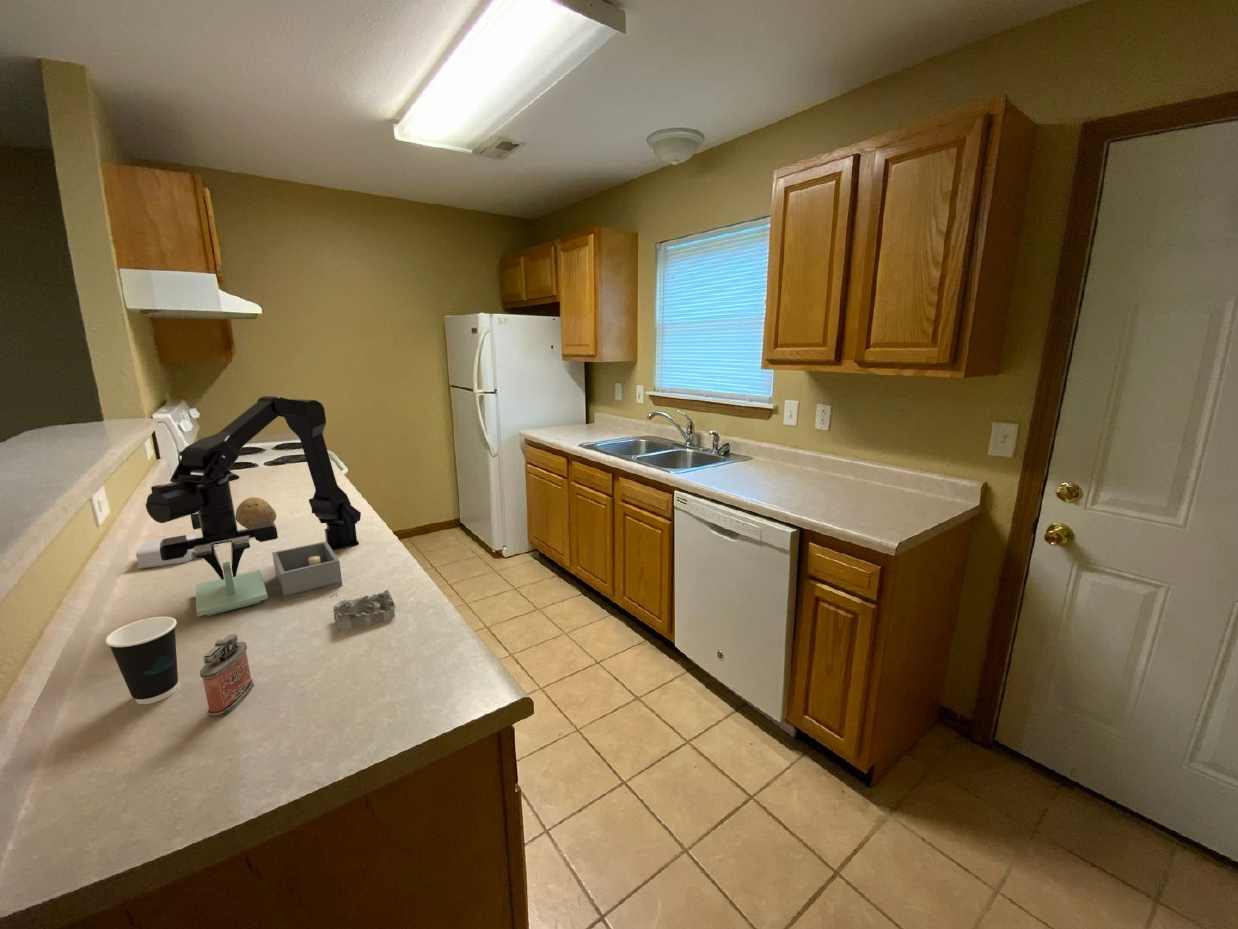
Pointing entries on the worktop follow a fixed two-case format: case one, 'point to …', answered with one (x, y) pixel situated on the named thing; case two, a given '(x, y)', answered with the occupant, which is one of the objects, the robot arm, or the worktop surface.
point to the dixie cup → (147, 657)
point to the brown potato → (254, 512)
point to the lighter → (226, 676)
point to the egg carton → (350, 609)
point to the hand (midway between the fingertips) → (228, 577)
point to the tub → (306, 569)
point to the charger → (151, 554)
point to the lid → (229, 592)
